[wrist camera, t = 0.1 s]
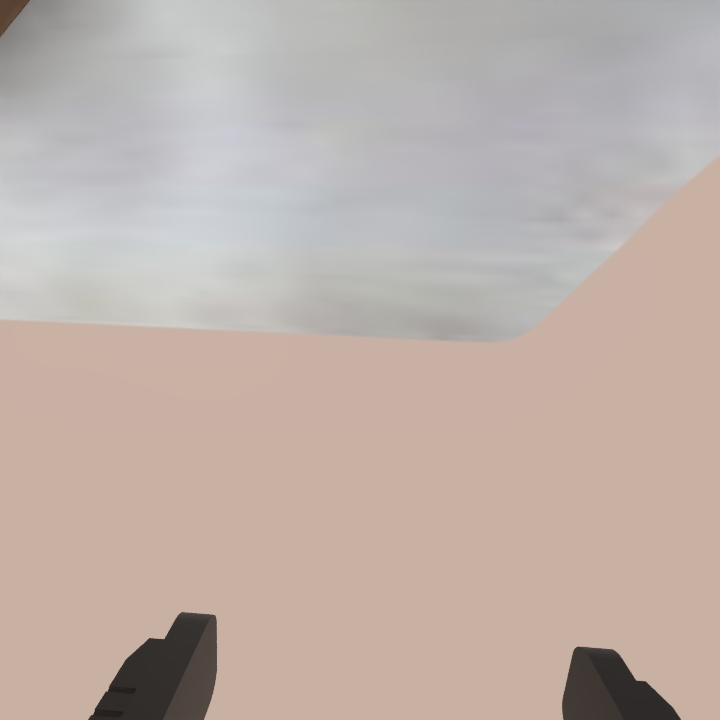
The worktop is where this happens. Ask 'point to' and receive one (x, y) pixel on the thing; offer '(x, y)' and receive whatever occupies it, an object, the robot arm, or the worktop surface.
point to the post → (9, 12)
